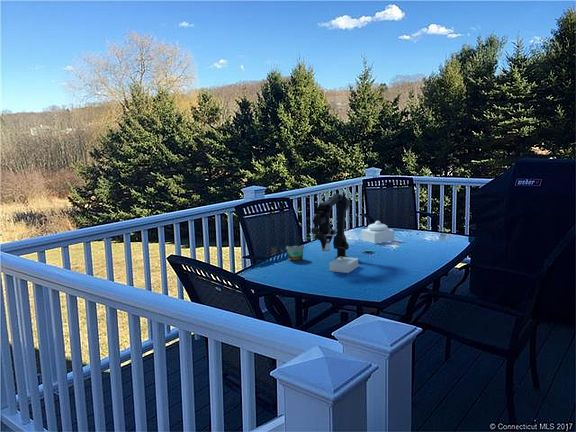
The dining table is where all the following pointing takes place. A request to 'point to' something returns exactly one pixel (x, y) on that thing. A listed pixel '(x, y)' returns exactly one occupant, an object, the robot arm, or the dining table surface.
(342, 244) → the robot arm
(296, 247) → the food container
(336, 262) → the camera body
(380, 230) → the butter dish
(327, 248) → the steel lens
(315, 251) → the dining table surface
